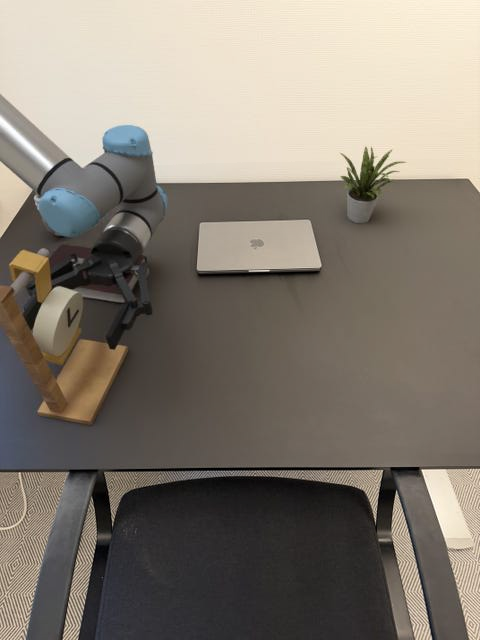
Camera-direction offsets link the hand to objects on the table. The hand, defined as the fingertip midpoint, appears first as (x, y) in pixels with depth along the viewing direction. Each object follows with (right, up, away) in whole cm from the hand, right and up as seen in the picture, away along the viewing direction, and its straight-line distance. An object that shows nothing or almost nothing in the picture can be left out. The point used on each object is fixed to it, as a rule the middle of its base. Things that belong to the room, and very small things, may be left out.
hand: (65, 336), depth 66 cm
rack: (-1, -8, +13) cm, 15 cm away
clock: (-5, -1, +8) cm, 9 cm away
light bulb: (-16, +22, +41) cm, 49 cm away
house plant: (+54, +26, +44) cm, 74 cm away
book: (-6, +11, +31) cm, 33 cm away
